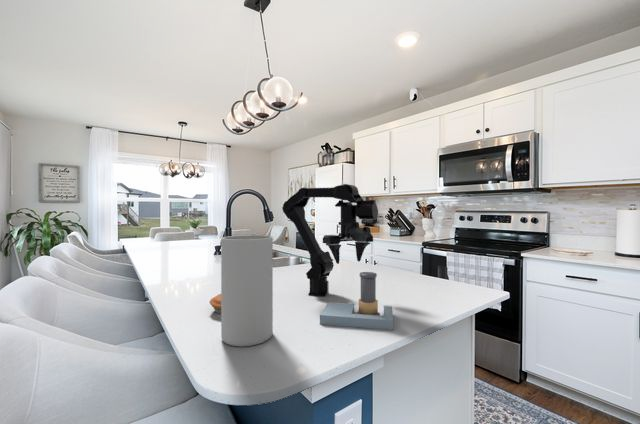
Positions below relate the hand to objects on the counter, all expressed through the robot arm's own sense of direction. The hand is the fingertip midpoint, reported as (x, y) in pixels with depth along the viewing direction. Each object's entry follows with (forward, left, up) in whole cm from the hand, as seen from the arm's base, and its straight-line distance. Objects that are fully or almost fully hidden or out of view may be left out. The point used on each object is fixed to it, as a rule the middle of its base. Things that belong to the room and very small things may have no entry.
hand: (348, 262), depth 108 cm
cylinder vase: (-21, -38, -13) cm, 45 cm away
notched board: (+5, -20, -13) cm, 24 cm away
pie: (-34, -20, -13) cm, 42 cm away
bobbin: (+8, -18, -13) cm, 23 cm away
